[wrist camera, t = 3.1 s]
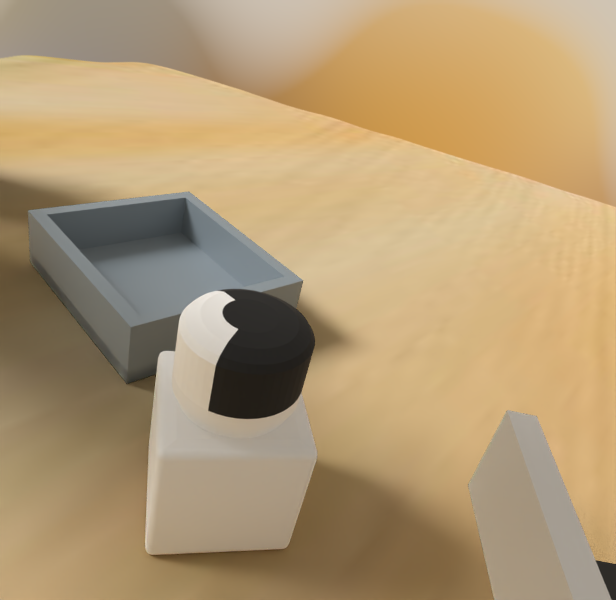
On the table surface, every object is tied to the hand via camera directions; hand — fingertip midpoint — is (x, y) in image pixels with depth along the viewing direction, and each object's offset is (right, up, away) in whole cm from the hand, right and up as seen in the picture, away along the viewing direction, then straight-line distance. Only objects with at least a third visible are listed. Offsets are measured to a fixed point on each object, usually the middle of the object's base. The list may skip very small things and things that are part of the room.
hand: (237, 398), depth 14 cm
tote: (-10, +3, +32) cm, 33 cm away
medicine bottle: (-3, -8, +17) cm, 20 cm away
